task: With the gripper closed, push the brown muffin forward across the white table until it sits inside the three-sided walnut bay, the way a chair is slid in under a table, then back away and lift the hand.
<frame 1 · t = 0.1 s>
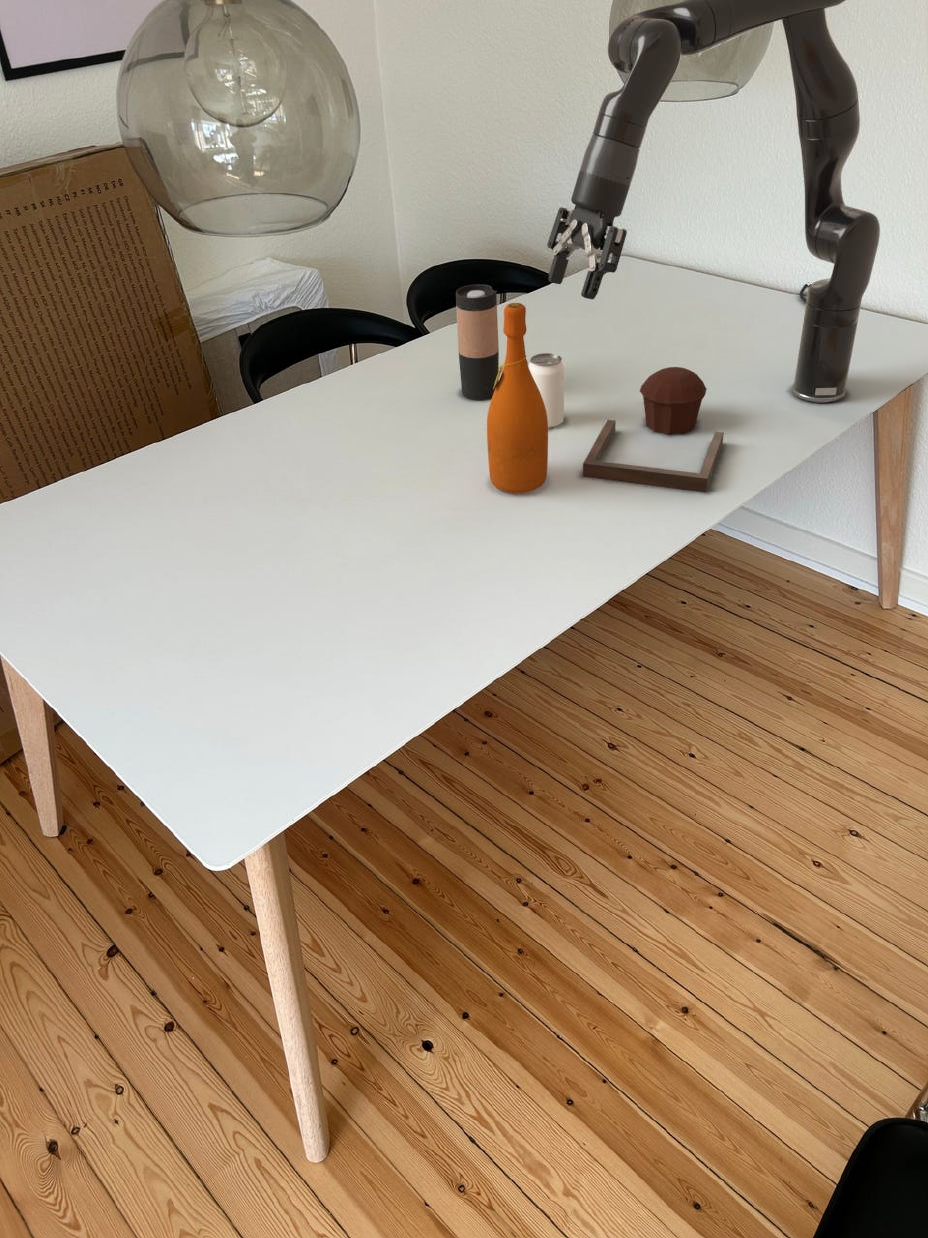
hand: (570, 290, 151), 31 cm above the table, tool tilted 20°, fingers open, 8 cm apart
can: (546, 422, 187), on the table
wine bottle: (518, 482, 170), on the table
travel mug: (480, 393, 199), on the table
muffin: (670, 424, 184), on the table
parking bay: (654, 459, 173), on the table
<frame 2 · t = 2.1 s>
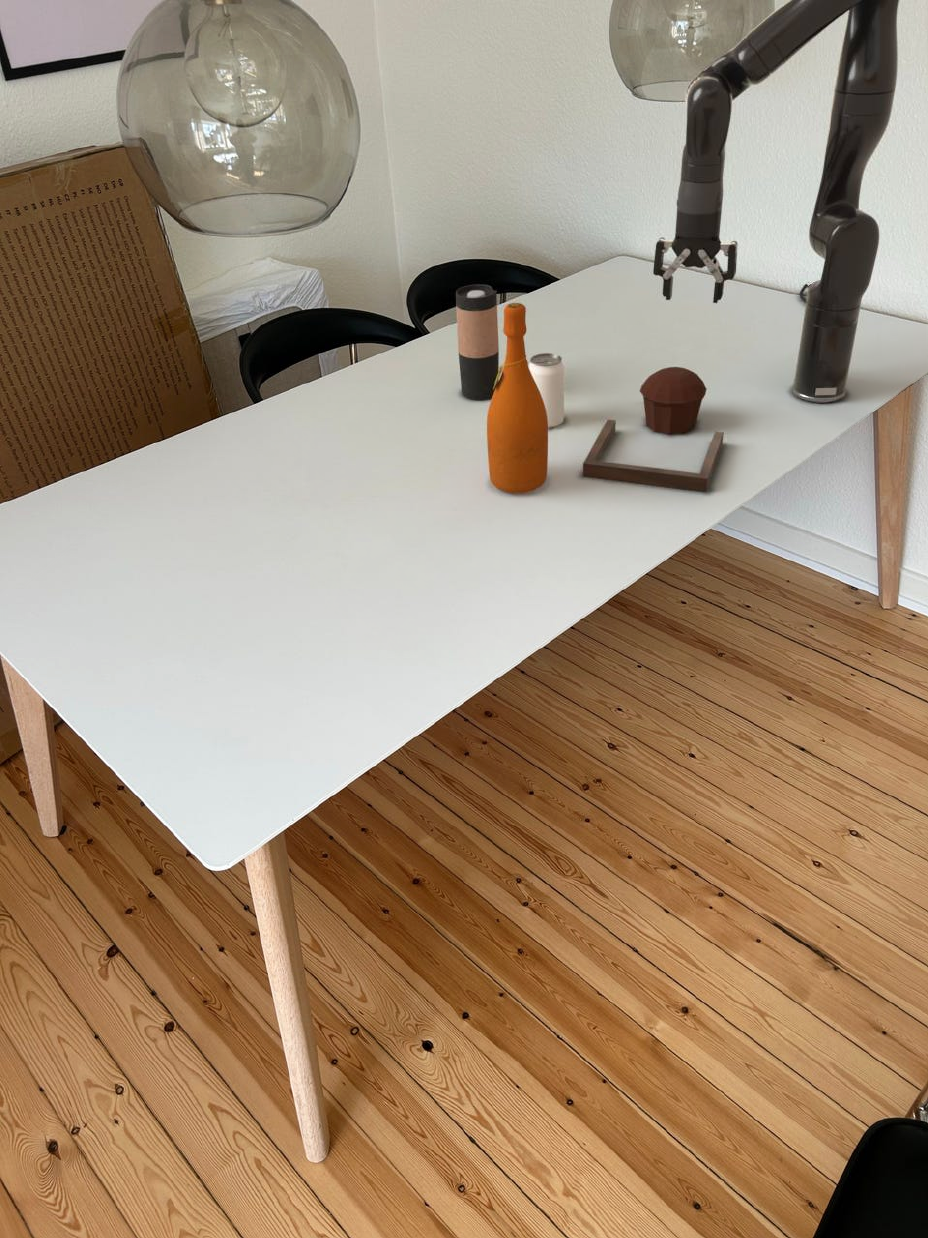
hand: (692, 300, 183), 18 cm above the table, tool pointing down, fingers open, 8 cm apart
nothing on the table moved.
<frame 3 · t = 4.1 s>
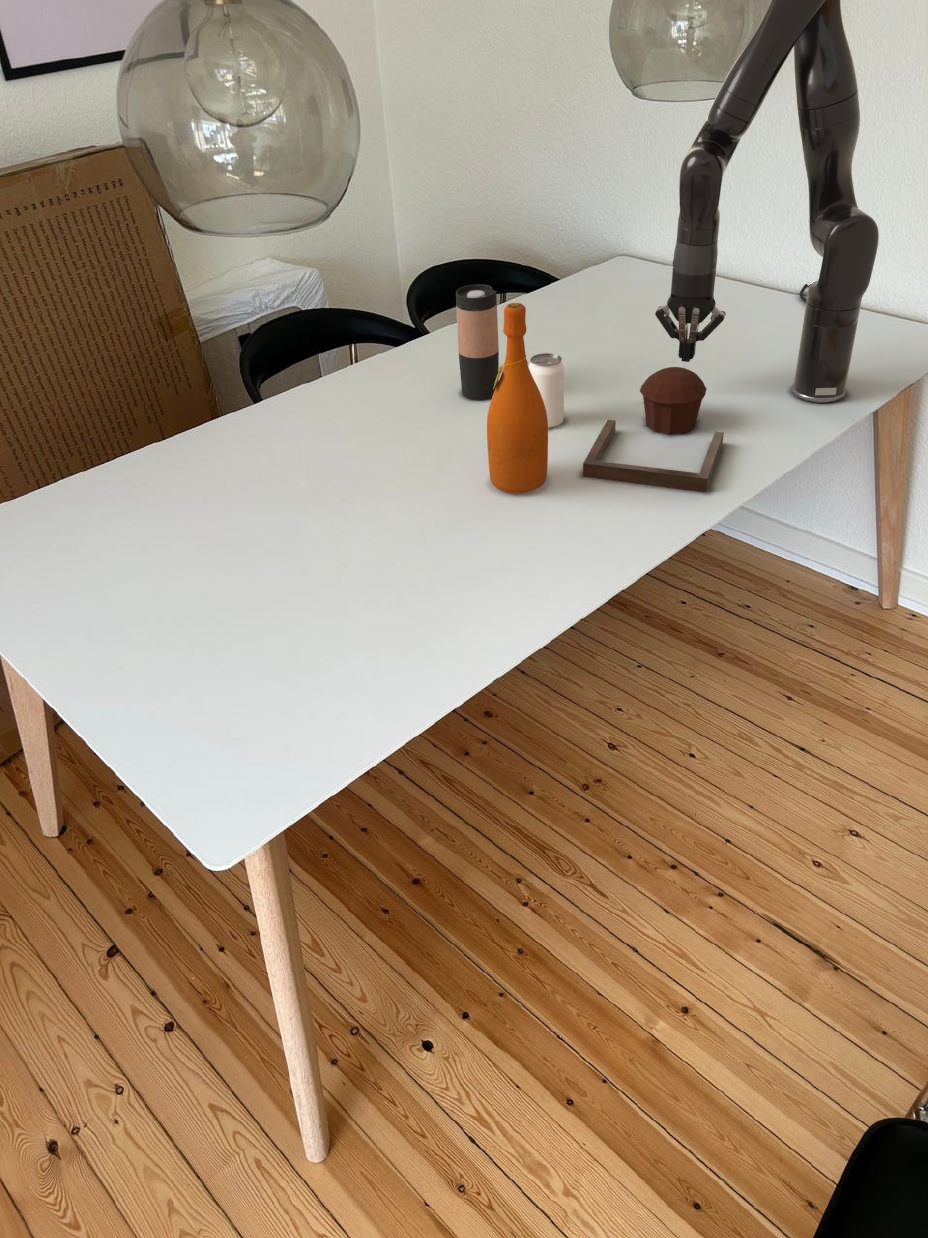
hand: (686, 359, 190), 7 cm above the table, tool pointing down, fingers closed
nothing on the table moved.
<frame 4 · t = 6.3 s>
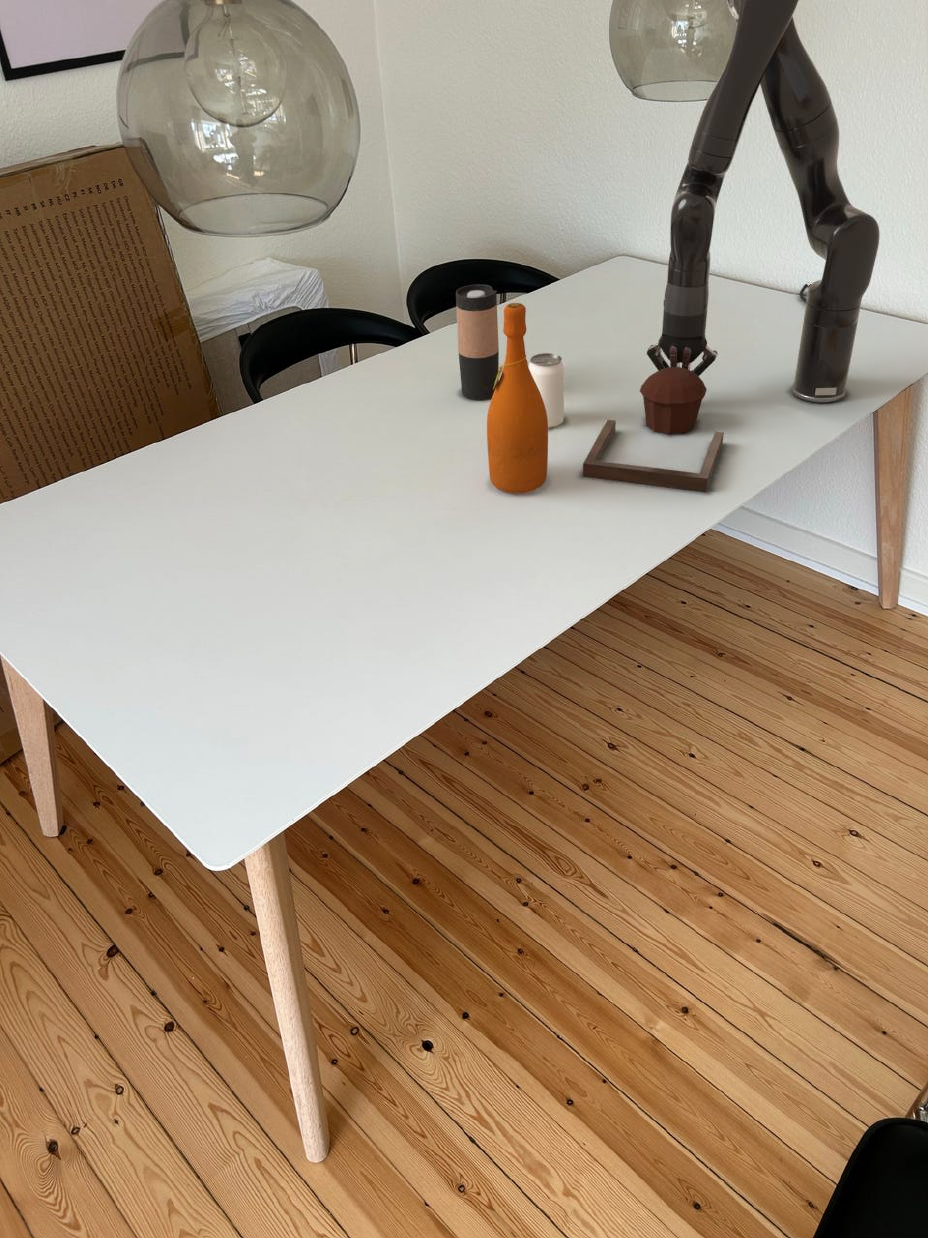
hand: (678, 398, 189), 2 cm above the table, tool pointing down, fingers closed
nothing on the table moved.
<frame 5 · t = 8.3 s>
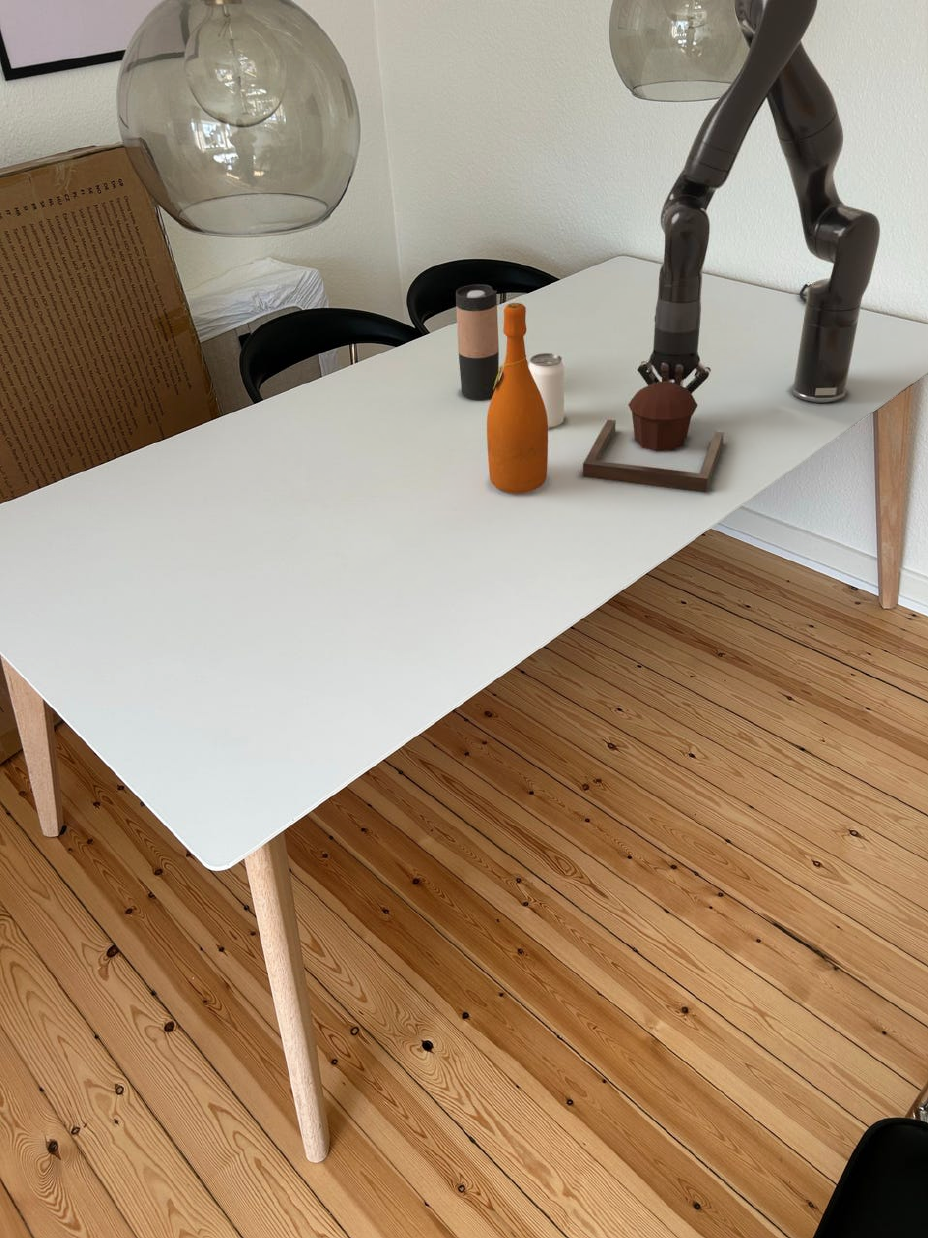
hand: (670, 416, 183), 2 cm above the table, tool pointing down, fingers closed
muffin: (660, 440, 179), on the table, touching hand
everything else where it was.
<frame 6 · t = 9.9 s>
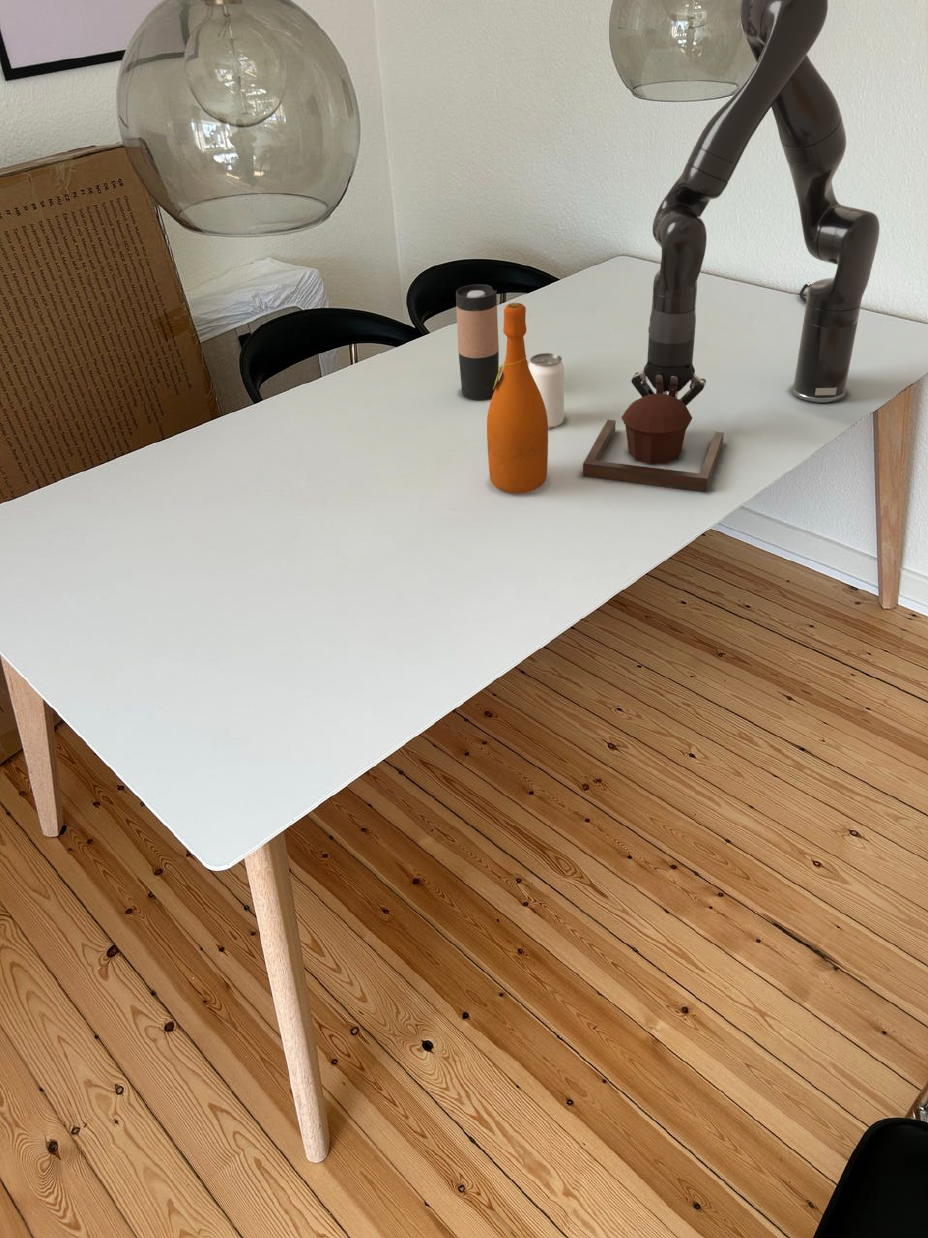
hand: (665, 428, 179), 2 cm above the table, tool pointing down, fingers closed
muffin: (654, 453, 175), on the table, touching hand
everything else where it was.
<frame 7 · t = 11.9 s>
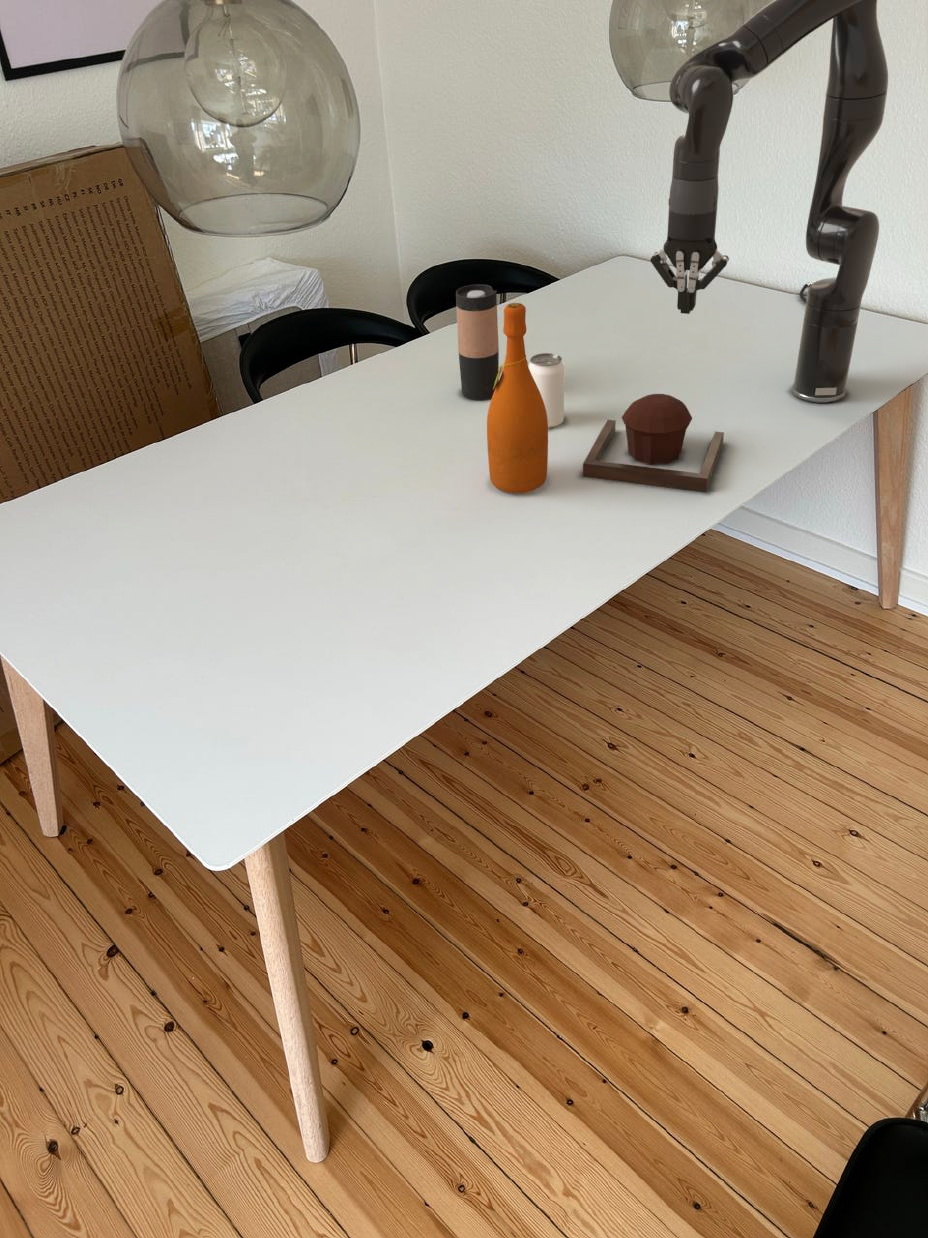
hand: (685, 311, 172), 21 cm above the table, tool pointing down, fingers closed
muffin: (654, 453, 175), on the table
everything else where it was.
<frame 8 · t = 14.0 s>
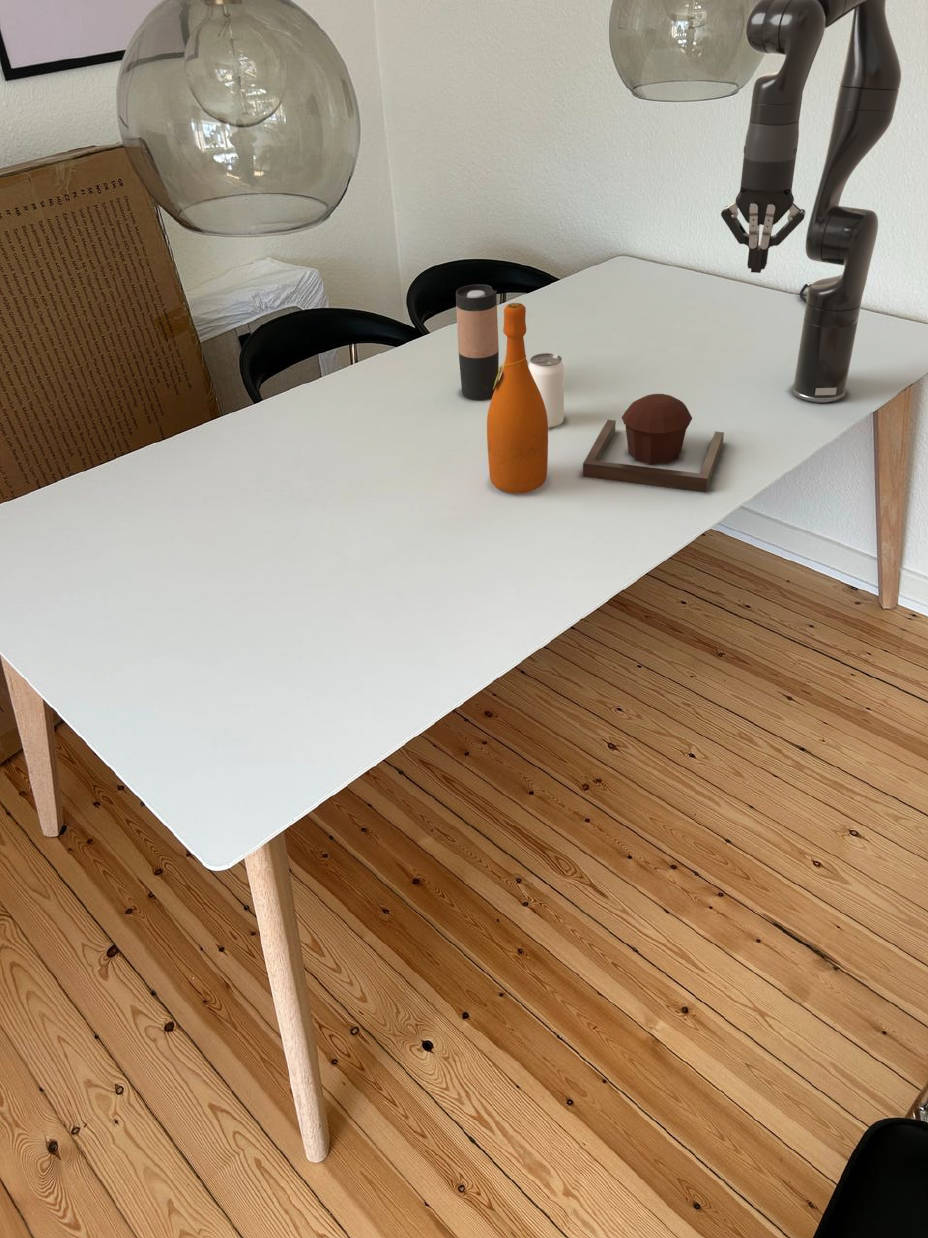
hand: (756, 270, 161), 29 cm above the table, tool pointing down, fingers closed
nothing on the table moved.
at the end: muffin inside the target area (3.3 cm from its centre), on the table; muffin tilted 0°; muffin moved 11.7 cm from its start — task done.
